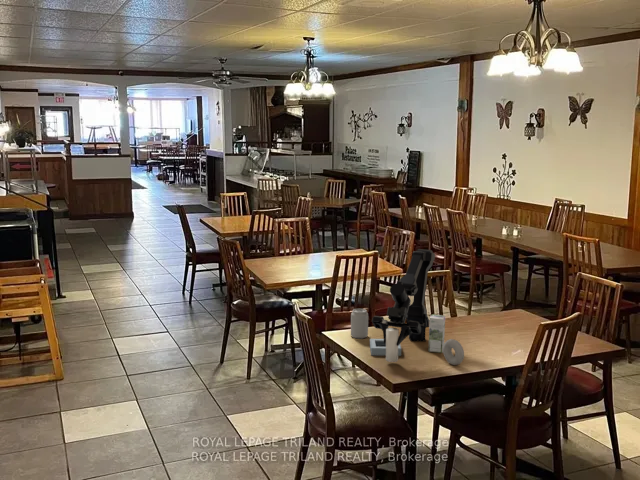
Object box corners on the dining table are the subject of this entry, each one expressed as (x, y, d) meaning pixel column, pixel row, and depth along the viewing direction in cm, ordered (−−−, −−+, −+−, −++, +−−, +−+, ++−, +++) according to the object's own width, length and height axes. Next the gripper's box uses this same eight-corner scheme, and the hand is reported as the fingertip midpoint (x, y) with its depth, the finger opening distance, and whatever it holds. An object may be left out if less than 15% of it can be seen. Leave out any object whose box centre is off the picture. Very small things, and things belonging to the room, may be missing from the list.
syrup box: (444, 349, 262) (445, 315, 259) (442, 353, 256) (443, 318, 254) (430, 347, 264) (431, 313, 261) (428, 351, 258) (429, 317, 256)
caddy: (398, 345, 265) (398, 339, 265) (401, 355, 253) (401, 348, 253) (369, 345, 266) (369, 338, 265) (371, 355, 254) (371, 348, 253)
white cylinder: (397, 357, 247) (398, 327, 245) (398, 361, 242) (399, 331, 240) (385, 357, 247) (385, 327, 245) (386, 361, 242) (386, 331, 240)
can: (368, 334, 281) (368, 308, 279) (367, 339, 274) (368, 312, 272) (351, 333, 282) (351, 307, 280) (350, 339, 274) (350, 312, 272)
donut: (440, 361, 247) (441, 336, 246) (447, 359, 249) (447, 335, 247) (459, 369, 239) (460, 343, 237) (465, 367, 241) (466, 342, 239)
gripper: (373, 295, 248) (362, 330, 240) (419, 301, 240) (410, 337, 232) (380, 310, 256) (370, 344, 248) (425, 316, 248) (416, 351, 240)
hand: (390, 344), depth 242 cm, fingers closed on white cylinder, 5 cm apart
